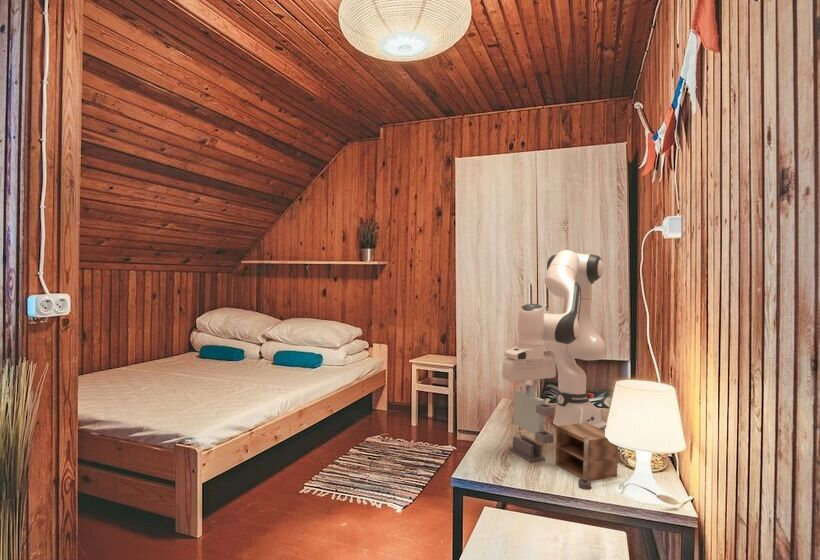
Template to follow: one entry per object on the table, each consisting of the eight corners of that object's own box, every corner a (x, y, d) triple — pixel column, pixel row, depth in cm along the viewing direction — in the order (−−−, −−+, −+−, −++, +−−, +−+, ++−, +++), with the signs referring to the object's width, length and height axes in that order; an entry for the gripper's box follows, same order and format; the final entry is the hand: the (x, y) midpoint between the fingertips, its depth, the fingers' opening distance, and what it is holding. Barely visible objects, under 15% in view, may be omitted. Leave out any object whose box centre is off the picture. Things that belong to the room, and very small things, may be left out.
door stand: (522, 449, 174) (523, 433, 174) (545, 461, 163) (545, 445, 163) (508, 451, 171) (509, 435, 171) (530, 464, 160) (531, 447, 160)
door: (520, 425, 175) (521, 381, 174) (553, 442, 159) (554, 393, 158) (510, 426, 173) (512, 381, 173) (543, 443, 157) (544, 394, 157)
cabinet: (583, 461, 165) (585, 416, 164) (625, 482, 149) (627, 433, 148) (545, 467, 158) (547, 421, 158) (584, 490, 142) (586, 438, 142)
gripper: (548, 349, 174) (547, 387, 174) (500, 351, 165) (499, 392, 166) (560, 352, 168) (559, 392, 168) (511, 355, 160) (510, 397, 160)
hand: (529, 392), depth 167 cm, fingers closed on door, 2 cm apart
